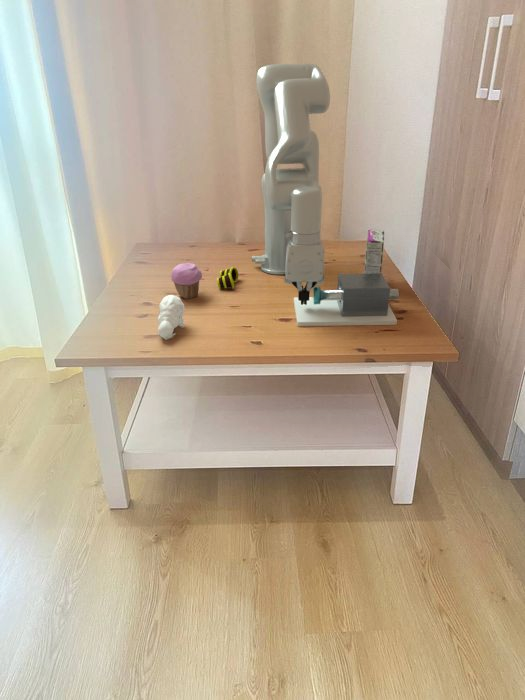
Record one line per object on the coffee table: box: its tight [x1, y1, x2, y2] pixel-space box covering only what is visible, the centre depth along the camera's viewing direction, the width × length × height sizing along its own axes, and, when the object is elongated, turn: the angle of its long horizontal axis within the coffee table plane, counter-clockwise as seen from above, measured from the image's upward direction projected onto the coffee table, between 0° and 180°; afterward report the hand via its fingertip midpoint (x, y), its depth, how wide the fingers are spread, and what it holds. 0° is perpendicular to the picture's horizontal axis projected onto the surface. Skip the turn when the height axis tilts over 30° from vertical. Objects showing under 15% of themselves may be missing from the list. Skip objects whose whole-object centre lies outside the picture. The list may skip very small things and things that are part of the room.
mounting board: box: [293, 296, 398, 327], centre depth 148 cm, size 26×16×1 cm, turn 91°
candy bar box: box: [363, 229, 385, 274], centre depth 159 cm, size 11×5×16 cm, turn 168°
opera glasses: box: [216, 266, 239, 290], centre depth 166 cm, size 10×5×5 cm, turn 174°
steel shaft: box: [312, 285, 400, 304], centre depth 145 cm, size 23×5×5 cm, turn 91°
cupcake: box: [170, 262, 203, 300], centre depth 157 cm, size 9×9×10 cm
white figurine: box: [157, 294, 185, 341], centre depth 137 cm, size 6×8×12 cm
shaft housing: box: [337, 272, 391, 317], centre depth 145 cm, size 12×10×8 cm
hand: (303, 302), depth 146 cm, fingers closed
